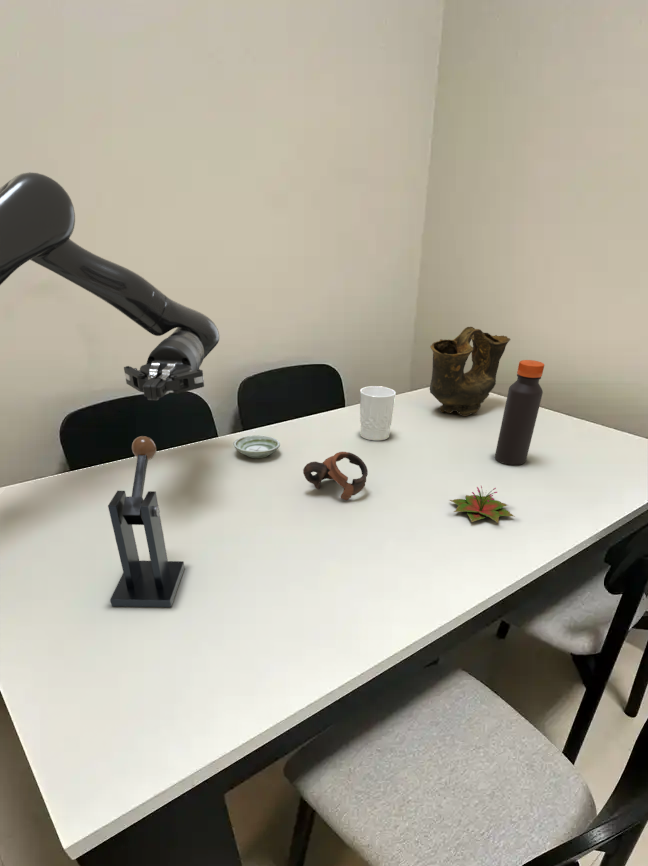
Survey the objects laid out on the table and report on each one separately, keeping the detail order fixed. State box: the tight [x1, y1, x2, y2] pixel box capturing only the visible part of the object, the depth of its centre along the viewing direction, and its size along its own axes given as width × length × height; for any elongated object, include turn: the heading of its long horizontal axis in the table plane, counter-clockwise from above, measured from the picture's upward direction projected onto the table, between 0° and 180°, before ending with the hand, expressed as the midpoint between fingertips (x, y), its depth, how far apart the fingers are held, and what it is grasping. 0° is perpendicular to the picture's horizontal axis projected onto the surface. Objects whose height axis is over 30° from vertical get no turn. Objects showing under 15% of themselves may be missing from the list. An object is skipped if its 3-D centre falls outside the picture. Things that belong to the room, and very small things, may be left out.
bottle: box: [494, 359, 545, 466], centre depth 121 cm, size 7×7×20 cm
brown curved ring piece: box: [302, 451, 369, 501], centre depth 109 cm, size 12×10×8 cm
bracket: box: [107, 490, 186, 608], centre depth 79 cm, size 10×8×14 cm
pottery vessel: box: [429, 326, 511, 417], centre depth 147 cm, size 25×11×20 cm, turn 132°
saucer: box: [233, 434, 281, 459], centre depth 123 cm, size 10×10×2 cm
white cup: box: [359, 385, 397, 441], centre depth 132 cm, size 8×8×10 cm
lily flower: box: [449, 485, 516, 524], centre depth 106 cm, size 12×12×5 cm
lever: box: [122, 435, 157, 526], centre depth 78 cm, size 13×3×3 cm
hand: (151, 393), depth 86 cm, fingers closed
